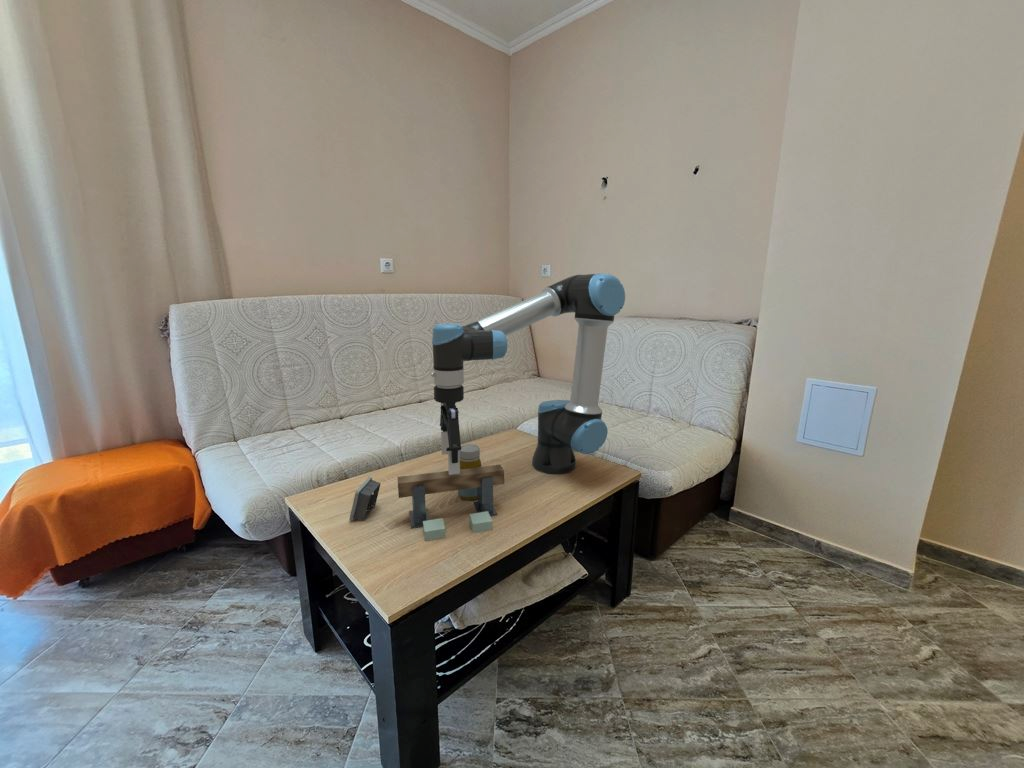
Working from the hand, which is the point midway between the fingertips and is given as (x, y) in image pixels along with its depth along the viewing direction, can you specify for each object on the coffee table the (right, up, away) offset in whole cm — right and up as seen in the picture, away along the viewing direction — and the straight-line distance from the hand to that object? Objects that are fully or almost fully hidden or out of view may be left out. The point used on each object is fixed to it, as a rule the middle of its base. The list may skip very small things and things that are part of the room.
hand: (450, 463), depth 111 cm
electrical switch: (-24, -15, +4) cm, 28 cm away
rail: (0, -7, +2) cm, 7 cm away
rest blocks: (+3, -16, -4) cm, 17 cm away
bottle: (+4, -12, +14) cm, 19 cm away
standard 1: (-8, -15, +1) cm, 17 cm away
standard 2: (+9, -14, +6) cm, 18 cm away
